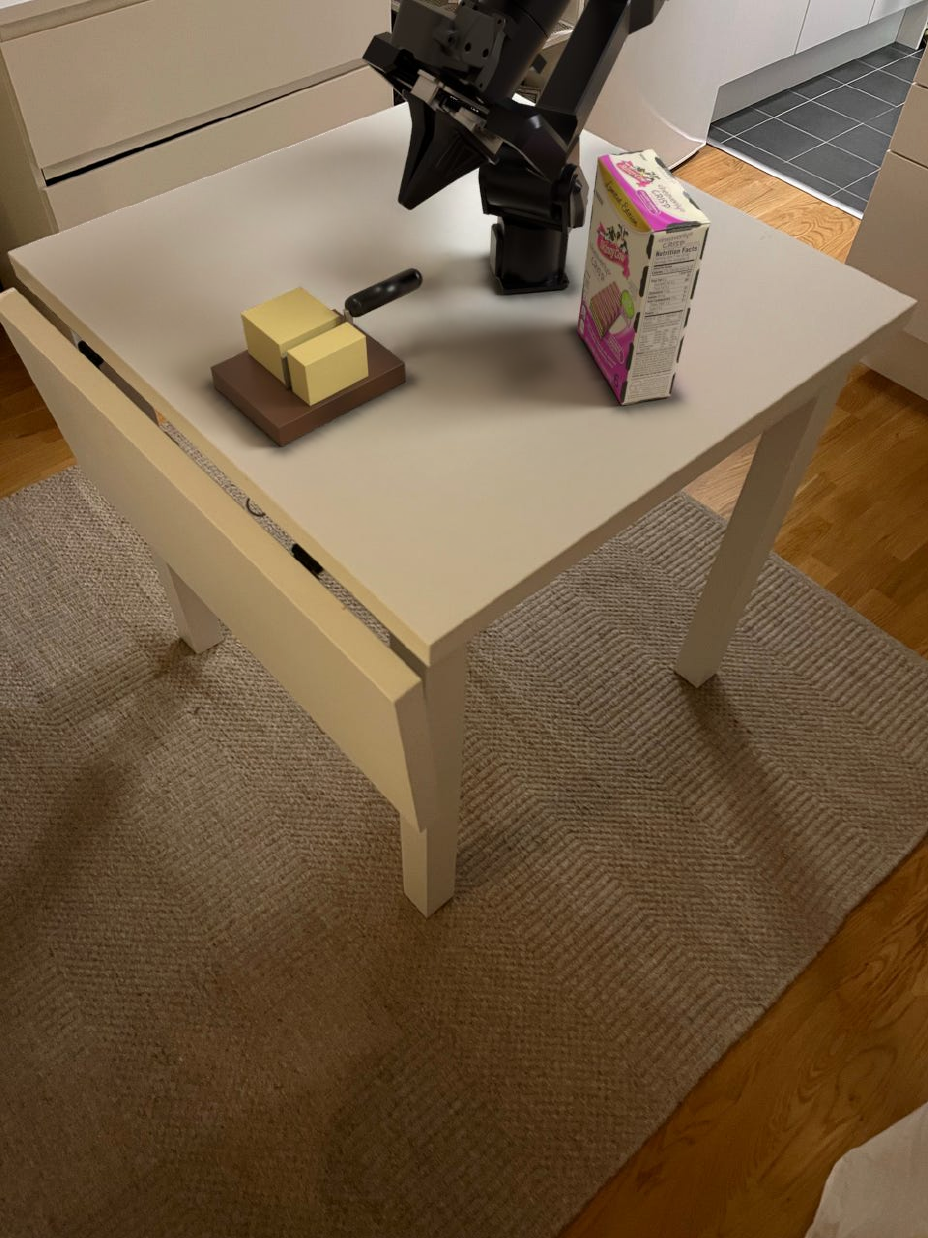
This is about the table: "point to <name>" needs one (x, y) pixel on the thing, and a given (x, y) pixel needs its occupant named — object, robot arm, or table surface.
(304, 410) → the board
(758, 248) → the table surface
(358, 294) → the knife
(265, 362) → the butter
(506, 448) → the table surface
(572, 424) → the table surface
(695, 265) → the candy bar box
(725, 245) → the table surface
